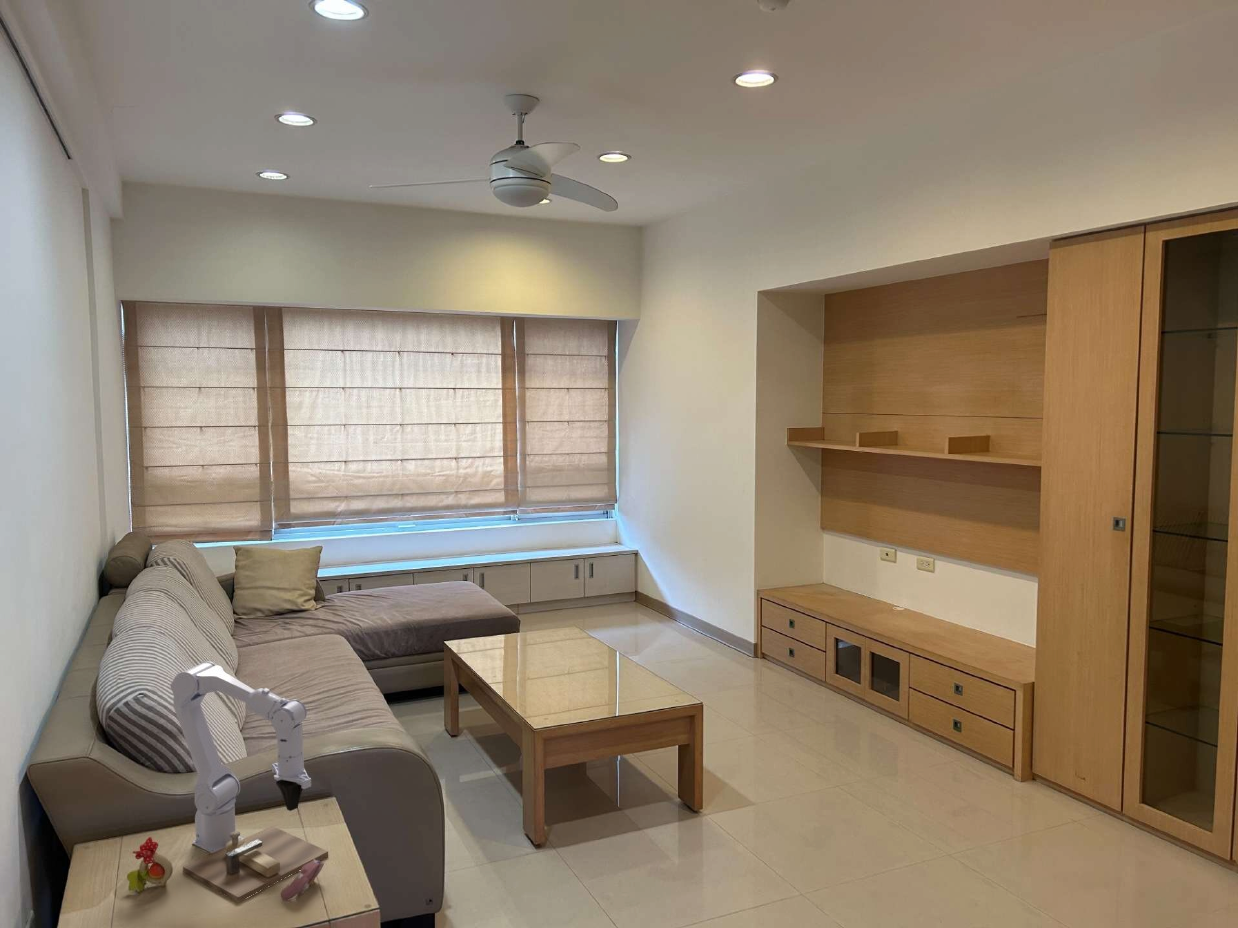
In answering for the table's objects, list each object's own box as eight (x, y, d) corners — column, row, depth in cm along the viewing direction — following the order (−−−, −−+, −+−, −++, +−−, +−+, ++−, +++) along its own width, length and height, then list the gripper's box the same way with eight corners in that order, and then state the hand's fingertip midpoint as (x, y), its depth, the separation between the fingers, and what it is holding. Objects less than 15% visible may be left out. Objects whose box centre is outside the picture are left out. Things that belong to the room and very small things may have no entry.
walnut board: (183, 871, 201) (182, 866, 201) (272, 830, 220) (272, 825, 220) (238, 902, 189) (238, 897, 189) (328, 855, 208) (328, 851, 208)
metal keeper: (226, 873, 198) (225, 853, 198) (257, 858, 205) (257, 839, 204) (231, 875, 197) (230, 856, 197) (262, 860, 204) (262, 841, 203)
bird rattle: (170, 886, 199) (132, 871, 199) (188, 842, 198) (149, 828, 198) (156, 902, 193) (117, 887, 192) (175, 857, 192) (135, 842, 192)
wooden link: (223, 853, 206) (222, 834, 206) (239, 846, 210) (238, 827, 209) (265, 878, 196) (265, 858, 195) (282, 870, 199) (281, 850, 198)
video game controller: (294, 909, 189) (307, 882, 188) (277, 898, 190) (289, 871, 189) (318, 884, 199) (330, 858, 198) (301, 873, 199) (313, 848, 198)
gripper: (259, 750, 210) (261, 805, 211) (290, 766, 201) (292, 824, 202) (286, 741, 216) (288, 795, 217) (318, 757, 206) (320, 813, 207)
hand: (292, 808), depth 210 cm, fingers closed
